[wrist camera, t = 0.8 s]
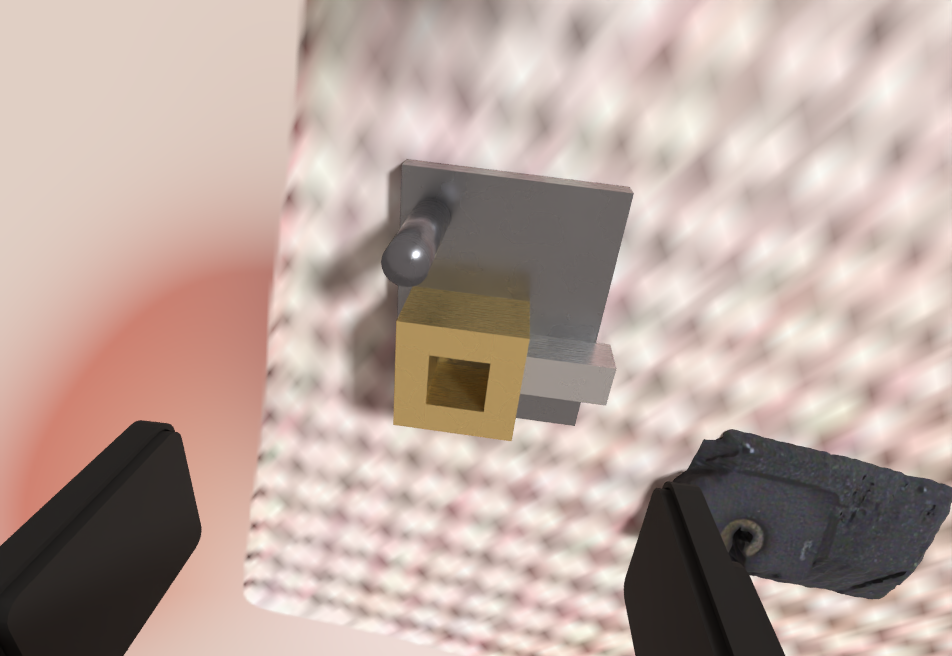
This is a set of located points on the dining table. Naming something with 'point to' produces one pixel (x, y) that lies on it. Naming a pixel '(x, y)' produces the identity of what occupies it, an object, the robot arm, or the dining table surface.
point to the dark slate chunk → (816, 514)
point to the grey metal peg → (416, 243)
